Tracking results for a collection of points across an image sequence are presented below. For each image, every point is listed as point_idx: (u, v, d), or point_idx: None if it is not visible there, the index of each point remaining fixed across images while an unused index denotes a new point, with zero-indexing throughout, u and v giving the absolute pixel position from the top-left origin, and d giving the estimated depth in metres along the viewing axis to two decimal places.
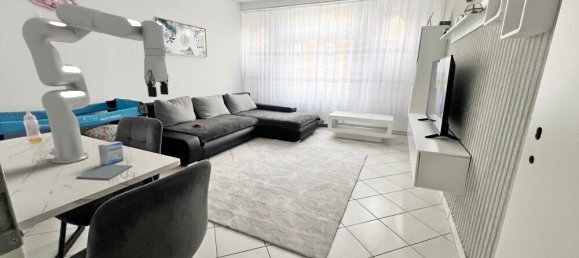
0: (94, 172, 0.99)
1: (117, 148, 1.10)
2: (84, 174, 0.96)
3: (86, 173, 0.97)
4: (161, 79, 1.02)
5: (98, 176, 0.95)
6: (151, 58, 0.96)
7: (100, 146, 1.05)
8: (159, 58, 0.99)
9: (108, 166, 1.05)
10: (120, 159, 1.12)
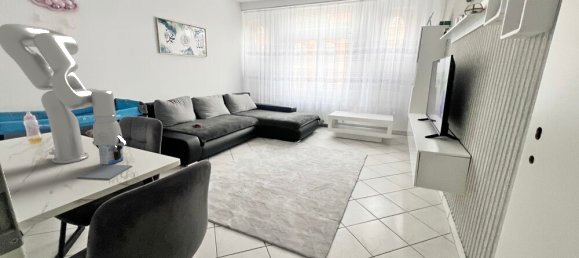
0: (94, 172, 0.99)
1: None
2: (84, 174, 0.96)
3: (86, 173, 0.97)
4: None
5: (98, 176, 0.95)
6: (117, 123, 1.07)
7: (100, 146, 1.05)
8: None
9: (108, 166, 1.05)
10: (120, 159, 1.12)
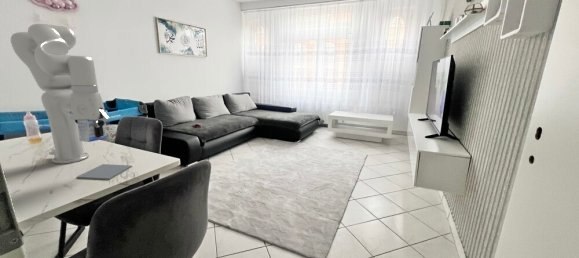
0: (94, 172, 0.99)
1: None
2: (84, 174, 0.96)
3: (86, 173, 0.97)
4: None
5: (98, 176, 0.95)
6: (99, 95, 0.94)
7: (79, 120, 0.92)
8: None
9: (108, 166, 1.05)
10: (103, 137, 0.99)
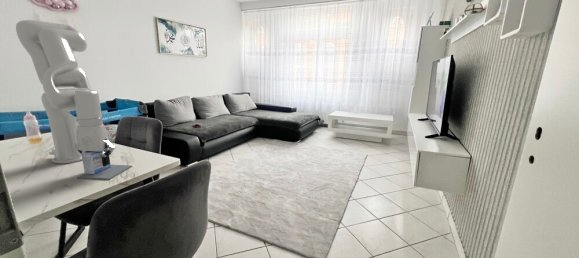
0: None
1: None
2: (84, 174, 0.96)
3: None
4: None
5: (98, 176, 0.95)
6: (103, 127, 0.97)
7: (83, 155, 0.95)
8: None
9: None
10: (107, 167, 1.02)
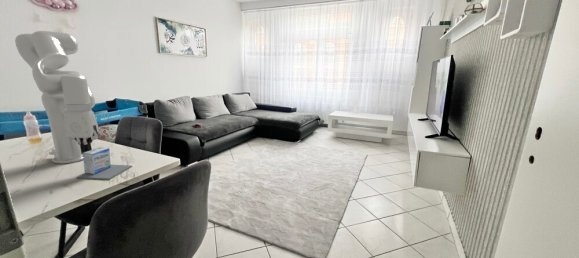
0: None
1: (104, 155, 1.00)
2: (84, 174, 0.96)
3: (86, 173, 0.97)
4: None
5: (98, 176, 0.95)
6: (92, 113, 0.95)
7: (85, 154, 0.95)
8: None
9: None
10: (107, 167, 1.02)
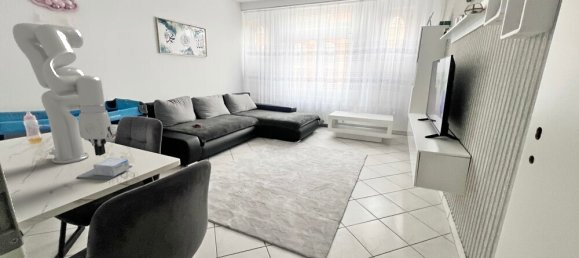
0: (94, 172, 0.99)
1: None
2: (84, 174, 0.96)
3: (86, 173, 0.97)
4: None
5: (98, 176, 0.95)
6: (106, 114, 0.95)
7: (111, 168, 0.95)
8: None
9: None
10: None
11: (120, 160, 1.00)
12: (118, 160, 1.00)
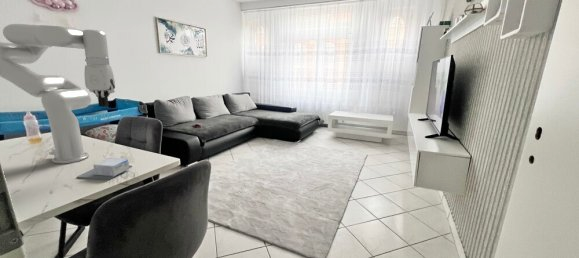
0: (94, 172, 0.99)
1: None
2: (84, 174, 0.96)
3: (86, 173, 0.97)
4: None
5: (98, 176, 0.95)
6: (109, 67, 1.02)
7: (111, 168, 0.95)
8: None
9: None
10: None
11: (120, 160, 1.00)
12: (118, 160, 1.00)
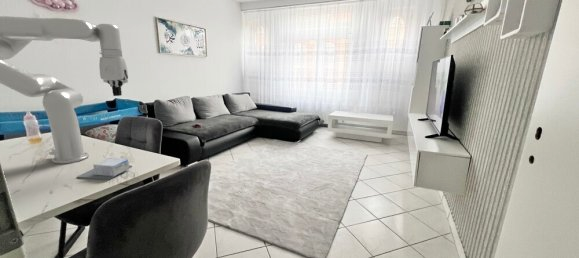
0: (94, 172, 0.99)
1: None
2: (84, 174, 0.96)
3: (86, 173, 0.97)
4: None
5: (98, 176, 0.95)
6: (123, 59, 1.10)
7: (111, 168, 0.95)
8: None
9: None
10: None
11: (120, 160, 1.00)
12: (118, 160, 1.00)
